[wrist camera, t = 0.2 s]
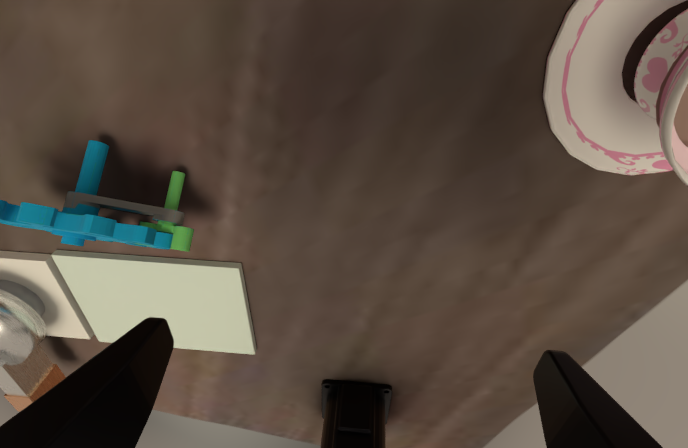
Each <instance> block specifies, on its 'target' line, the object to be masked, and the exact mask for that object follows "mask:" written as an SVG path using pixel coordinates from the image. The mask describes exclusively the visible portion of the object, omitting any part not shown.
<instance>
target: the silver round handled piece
mask: <svg viewBox="0 0 688 448" xmlns="http://www.w3.org/2000/svg"><path fill="white" fill-rule="evenodd" d="M46 334H47V329H46V325H45V323H44V321H43V319H42V318H41V317H40V315H39V314H38V313H37V312H36V311H35V310H34V309H33V308H32V307H30V306H29V305H28V304H27V303H25V302H24V301H22V300H21V299H19V298H17V297H16V296H14V295H12V294H10V293H8V292H6V291H3V290H1V289H0V388H1V389H2V390H3V391H4V392H5V393H6V394H5V395H4V396H5V398H6V399H7V400H8V401H9V402H10V403H11V404H12V405H13V406H14V408H15V409H16V410H17V411H22V410H23V409H25V408H26V407H27V406H29V405H30V404H31V403H33V402H34V401H35V400H37V399H38V398H39V397H41V396H42V395H43V394H45V393H46V392H47V391H49V390H50V389H51V388H53V387H54V386H55V385H57V384H58V383H59V382H61V381H62V380H64V379H65V378H66V377H65V376H64V374H63V373H62V372H61V370H60V369H59V367H58V366H57V364H52V362H51V361H50V360H49V358H48V357H47V355H46V354H45V353H44V351H43V350H42V348H41V347H40V345H39V344H40V342H41V341H42V340H43V339H44V338H45V336H46Z"/></svg>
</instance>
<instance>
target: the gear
mask: <svg viewBox="0 0 688 448" xmlns="http://www.w3.org/2000/svg"><path fill="white" fill-rule="evenodd" d="M108 150H109V146H108V145H107V144H105V143H102V142H98V141H94V140H89V142H88V146H87V149H86V153H85V157H84V160H83V164H82V168H81V171H80V175H79V179H78V182H77V186H76V190H75V192H72V191H68V193H67V196H66V200H65V204H64V207H63V211H62V212H60V211H58V209H56V208H51V207H46V206H41V205H36V204H30V203H25V202H21V206H17V205H13V204H9V203H7V202H6V201H3V200H0V222H1V223H2V224H7V225H13V226H18V227H25V228H33V229H39V230H46V231H47V232H52V233H51V234H55V235H60V236H63V237H62V241H61V243H64V244H71V245H77V246H83V245H84V241H85V240H92V241H96V240H102V241H108V242H113V241H115V242H122V243H125V244H129V245H135V246H142V247H147V246H148V247H153V248H159V249H167V250H168V249H175V250H181V251H190V246H191V241H192V237H193V232H194V229H191V228H186V227H181V226H176V225H182V224H183V220H184V215H185V213H183V212H180V211H177V209H178V205H179V201H180V196H181V192H182V187H183V183H184V178H185V174H184V173H182V172H178V171H172V176H171V180H170V184H169V189H168V193H167V197H166V202H165V206H164V208H161V207H156V206H150V205H145V204H139V203H134V202H128V201H123V200H117V199H112V198H106V197H101V196H96V195H97V192H98V188H99V184H100V180H101V176H102V173H103V169H104V165H105V161H106V157H107V154H108ZM100 207H103V208H109V209H114V210H120V211H126V212H131V213H137V214H143V215H148V216H153V220H155V221H158V224H153V223H148V222H140V224H139V226H138V225H129V224H121V223H116V221H117V220H113V219H109V218H104V217H100V216H98V213H99V209H100ZM162 232H163V233H162ZM168 233H169V234H168ZM172 234H173V235H172Z"/></svg>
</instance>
